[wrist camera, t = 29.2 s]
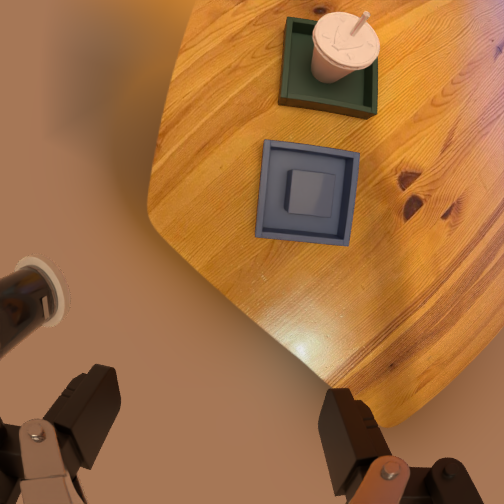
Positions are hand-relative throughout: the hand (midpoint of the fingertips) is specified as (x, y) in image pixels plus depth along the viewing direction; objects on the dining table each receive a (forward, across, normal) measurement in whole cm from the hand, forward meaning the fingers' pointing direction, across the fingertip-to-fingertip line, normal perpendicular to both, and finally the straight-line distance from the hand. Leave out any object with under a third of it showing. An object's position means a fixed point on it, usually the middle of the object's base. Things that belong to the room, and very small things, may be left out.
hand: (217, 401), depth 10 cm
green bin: (+26, -8, -23) cm, 36 cm away
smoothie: (+26, -8, -23) cm, 35 cm away
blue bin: (+26, -7, -7) cm, 28 cm away
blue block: (+26, -7, -7) cm, 28 cm away
